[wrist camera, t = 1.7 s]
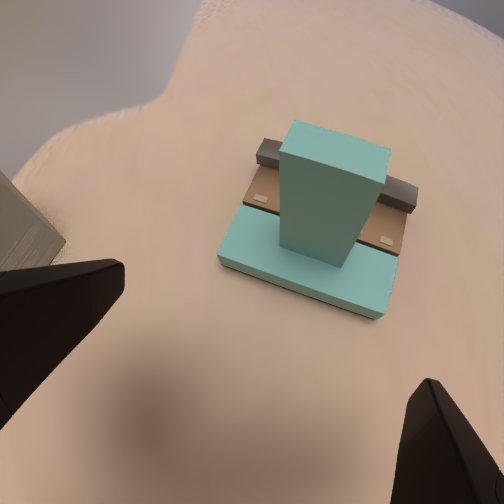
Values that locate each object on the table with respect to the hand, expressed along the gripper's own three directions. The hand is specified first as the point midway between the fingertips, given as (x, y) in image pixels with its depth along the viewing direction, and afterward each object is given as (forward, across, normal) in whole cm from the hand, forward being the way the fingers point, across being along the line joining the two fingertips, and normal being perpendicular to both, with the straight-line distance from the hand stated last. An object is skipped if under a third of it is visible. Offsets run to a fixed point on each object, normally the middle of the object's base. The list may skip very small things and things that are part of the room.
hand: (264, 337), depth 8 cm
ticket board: (+19, 0, +1) cm, 19 cm away
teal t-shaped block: (+14, 0, +4) cm, 15 cm away
